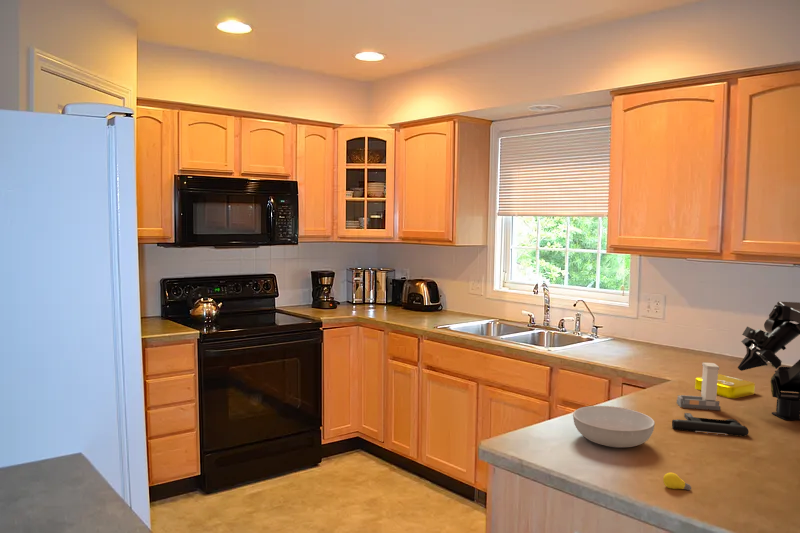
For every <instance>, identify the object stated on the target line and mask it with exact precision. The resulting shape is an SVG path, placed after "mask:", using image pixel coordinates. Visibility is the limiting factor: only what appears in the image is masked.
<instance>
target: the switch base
mask: <svg viewBox="0 0 800 533" xmlns="http://www.w3.org/2000/svg"><path fill="white" fill-rule="evenodd" d="M676 404H677V405H678V406H679V407H680V408H681V407H683V409H695V408H696V409H699V410H708V409H709V410H710V411H721V406H720V401H718V400H715V401H710V400H702V396H701V395H700V396H698V395H685V394H684V395H683V394H681V395H677V399H676ZM709 410H708V411H709Z"/></svg>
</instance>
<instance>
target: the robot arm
mask: <svg viewBox="0 0 800 533" xmlns="http://www.w3.org/2000/svg"><path fill="white" fill-rule="evenodd" d="M768 316H769V317H768V318H767V319H766V320H765V322H764V325H763V327H764V330H765V331H764V330H761V329H760V328H758V329H753V328H752V327H749V326H746V328H745V329H744V331H743V332H742V334H741V335H742V336H745V338H744V339H742V340H741V341H740V342H741V343H742V344H743V345H744V346H745V350H746V354H745V355H744V357H743V359H742V360H741V362H740V363H739V364H738V366H737V369H738V370H739V371H741V372H743V371H745V370H746V371H747V370H751V369H754V368H759V367H764V366H768V363H770V364H771V367H773V368H774V369H776V370H774V373H773V375H772V376H771V378H770V391H771V397H772V398H776V408H775V411H771V415H774V416H775V417H778V418H779V419H783V420H784V421H800V359H798V360H797V361H796V362H795V363H794V364H793V365H792V366H782V360H781V359H780V358H779V357H778V356H777V355H776V353H778V352H780V351H781V350H782V351H784V350H787V348H786V346H788V345H789V343H791V342H792V341H793V340H794V339H796V338H797V337H798V336H799V335H800V302H795V301H777V303H776V304H775V305H774V307H773V309H772V310H771V312H770V313H769V315H768ZM793 322H795V323H793Z"/></svg>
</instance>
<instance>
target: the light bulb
mask: <svg viewBox="0 0 800 533" xmlns="http://www.w3.org/2000/svg"><path fill="white" fill-rule="evenodd" d="M662 478H663V479H662V481H663V484H664V485H665V487H666V488H668V489H671V490H686V491H691V490H692V485H691V484H689V483H687V482H685V481H684V480H683V479H682V478H680V476H678V474H677V473H674V472H672V471H671V472H667V473H665V474H664V475H663V477H662Z"/></svg>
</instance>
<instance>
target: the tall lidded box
mask: <svg viewBox="0 0 800 533" xmlns="http://www.w3.org/2000/svg"><path fill="white" fill-rule="evenodd" d="M701 363H702V375H701V377H702V388H701V390H700V391H701V392H700V396H701V397H702V400H710V401H717V396H718V395H717V381H718V374H719V371H720V366H718V364H716V363H715V362H701Z"/></svg>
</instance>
